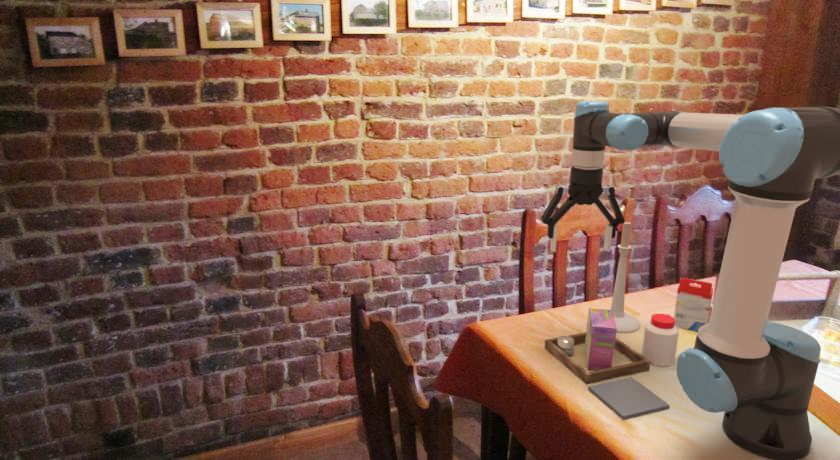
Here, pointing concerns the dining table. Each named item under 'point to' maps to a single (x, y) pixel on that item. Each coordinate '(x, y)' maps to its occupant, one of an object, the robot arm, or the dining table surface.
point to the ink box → (693, 304)
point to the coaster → (628, 398)
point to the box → (600, 339)
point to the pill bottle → (660, 340)
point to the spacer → (566, 344)
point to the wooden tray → (603, 374)
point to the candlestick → (623, 288)
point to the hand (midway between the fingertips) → (579, 250)
